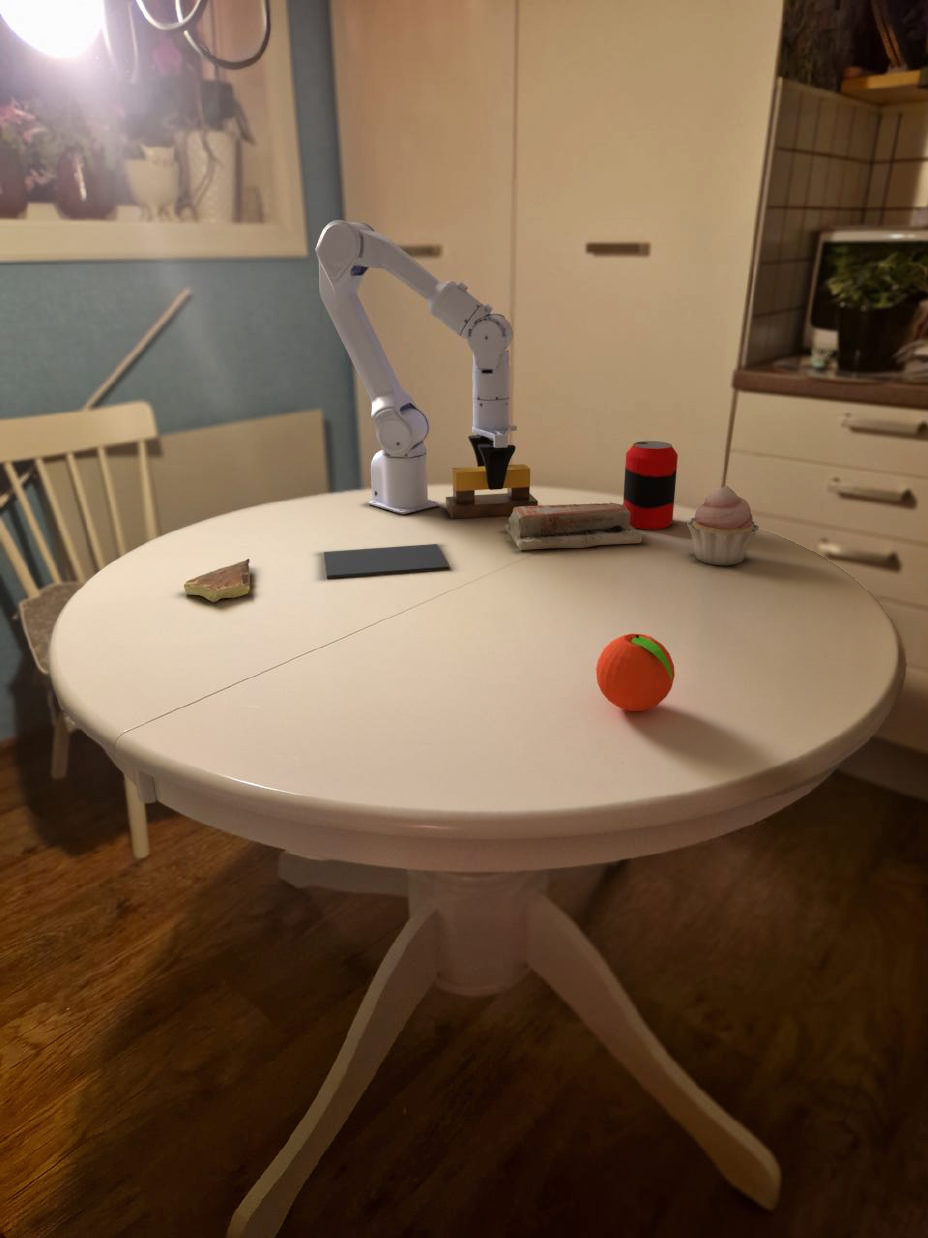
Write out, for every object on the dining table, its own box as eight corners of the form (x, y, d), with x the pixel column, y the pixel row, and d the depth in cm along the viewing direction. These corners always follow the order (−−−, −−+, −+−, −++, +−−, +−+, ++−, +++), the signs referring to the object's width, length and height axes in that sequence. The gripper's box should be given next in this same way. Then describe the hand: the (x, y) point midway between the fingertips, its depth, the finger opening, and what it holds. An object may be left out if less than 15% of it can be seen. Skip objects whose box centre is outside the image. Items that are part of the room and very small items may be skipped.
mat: (326, 578, 112) (326, 575, 112) (324, 554, 121) (323, 551, 121) (448, 569, 114) (448, 566, 114) (437, 546, 123) (437, 543, 123)
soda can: (640, 513, 138) (644, 437, 133) (681, 522, 133) (688, 444, 128) (612, 523, 133) (616, 445, 128) (654, 533, 128) (660, 452, 123)
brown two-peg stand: (452, 518, 136) (451, 493, 135) (445, 508, 142) (445, 484, 140) (537, 512, 139) (538, 488, 137) (528, 503, 144) (528, 479, 143)
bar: (456, 491, 136) (456, 472, 135) (452, 486, 139) (452, 467, 138) (530, 486, 138) (530, 468, 137) (524, 482, 141) (525, 463, 140)
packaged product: (519, 518, 118) (505, 500, 128) (518, 552, 120) (505, 532, 129) (645, 511, 121) (622, 494, 130) (643, 544, 123) (620, 525, 132)
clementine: (696, 716, 77) (704, 643, 74) (639, 738, 74) (645, 663, 71) (634, 682, 83) (639, 614, 81) (578, 701, 80) (581, 631, 77)
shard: (249, 569, 115) (248, 556, 115) (289, 580, 111) (288, 566, 111) (182, 593, 107) (180, 579, 107) (223, 606, 103) (221, 591, 103)
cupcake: (753, 550, 120) (762, 479, 116) (756, 572, 111) (765, 496, 108) (684, 545, 122) (690, 475, 118) (682, 567, 114) (688, 492, 110)
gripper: (527, 403, 127) (526, 493, 133) (505, 390, 141) (505, 472, 146) (481, 405, 126) (481, 496, 132) (463, 391, 139) (464, 474, 145)
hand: (491, 484), depth 139 cm, fingers open, 6 cm apart
